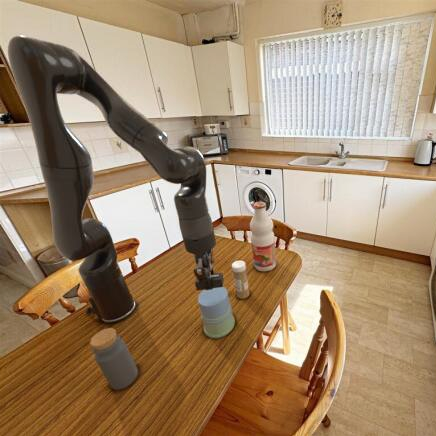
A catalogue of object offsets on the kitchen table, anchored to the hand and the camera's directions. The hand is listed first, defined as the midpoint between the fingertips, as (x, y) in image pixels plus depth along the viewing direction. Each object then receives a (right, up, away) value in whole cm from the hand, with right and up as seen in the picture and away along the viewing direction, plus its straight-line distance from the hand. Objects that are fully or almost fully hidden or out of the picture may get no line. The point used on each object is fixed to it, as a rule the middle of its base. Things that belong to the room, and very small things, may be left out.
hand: (210, 284), depth 67 cm
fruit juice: (+12, -2, +34) cm, 36 cm away
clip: (0, 0, 0) cm, 0 cm away
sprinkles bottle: (+5, -9, +19) cm, 21 cm away
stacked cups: (+1, -15, +7) cm, 16 cm away
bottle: (-19, -22, -7) cm, 30 cm away
